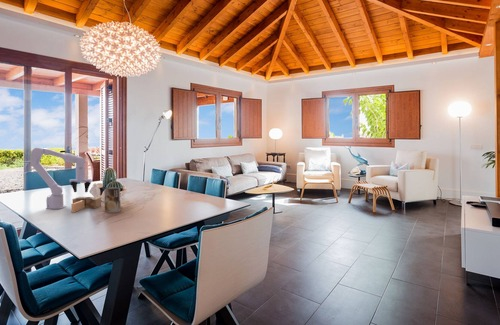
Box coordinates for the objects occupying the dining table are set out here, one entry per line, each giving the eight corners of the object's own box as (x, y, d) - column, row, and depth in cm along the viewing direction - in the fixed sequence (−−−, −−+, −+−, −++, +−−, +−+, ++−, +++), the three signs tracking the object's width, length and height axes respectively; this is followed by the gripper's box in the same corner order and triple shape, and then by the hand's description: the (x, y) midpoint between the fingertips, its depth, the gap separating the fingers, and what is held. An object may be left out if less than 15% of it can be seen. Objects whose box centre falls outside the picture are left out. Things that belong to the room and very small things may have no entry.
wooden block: (72, 207, 202) (72, 198, 201) (79, 205, 210) (79, 195, 209) (95, 208, 202) (95, 198, 201) (101, 205, 210) (101, 196, 210)
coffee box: (121, 210, 199) (120, 187, 197) (119, 212, 192) (119, 188, 191) (106, 210, 196) (106, 187, 195) (104, 212, 190) (104, 189, 189)
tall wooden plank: (71, 212, 189) (71, 203, 189) (82, 207, 201) (81, 200, 201) (74, 212, 189) (74, 204, 189) (84, 207, 201) (84, 200, 201)
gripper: (66, 174, 202) (67, 193, 204) (88, 174, 204) (88, 193, 205) (72, 172, 209) (72, 191, 211) (92, 173, 211) (93, 191, 212)
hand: (80, 192), depth 208 cm, fingers open, 7 cm apart
